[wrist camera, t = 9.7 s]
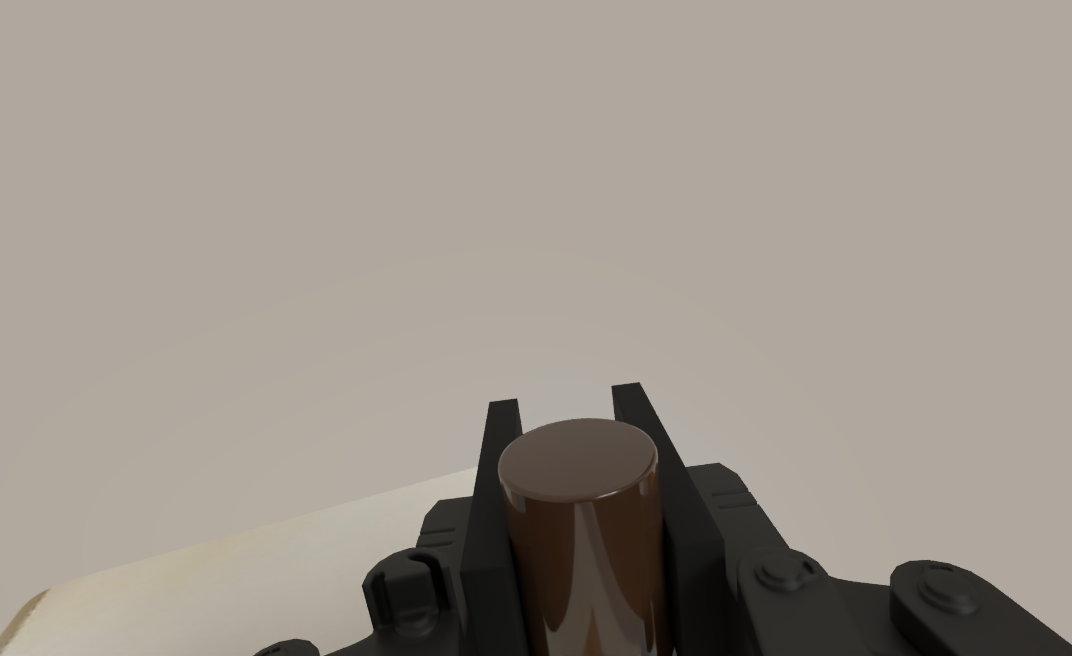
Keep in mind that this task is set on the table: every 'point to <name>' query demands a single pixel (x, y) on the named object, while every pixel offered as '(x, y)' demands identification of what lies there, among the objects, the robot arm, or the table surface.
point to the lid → (588, 539)
